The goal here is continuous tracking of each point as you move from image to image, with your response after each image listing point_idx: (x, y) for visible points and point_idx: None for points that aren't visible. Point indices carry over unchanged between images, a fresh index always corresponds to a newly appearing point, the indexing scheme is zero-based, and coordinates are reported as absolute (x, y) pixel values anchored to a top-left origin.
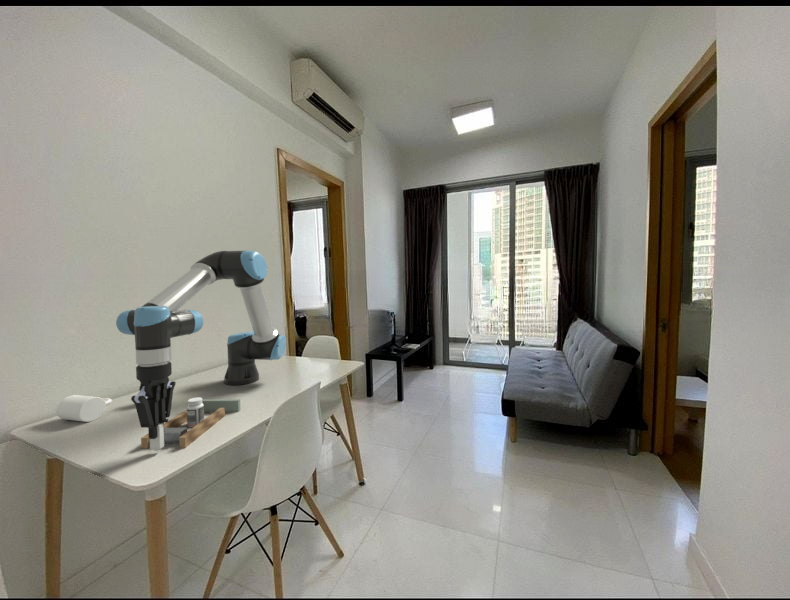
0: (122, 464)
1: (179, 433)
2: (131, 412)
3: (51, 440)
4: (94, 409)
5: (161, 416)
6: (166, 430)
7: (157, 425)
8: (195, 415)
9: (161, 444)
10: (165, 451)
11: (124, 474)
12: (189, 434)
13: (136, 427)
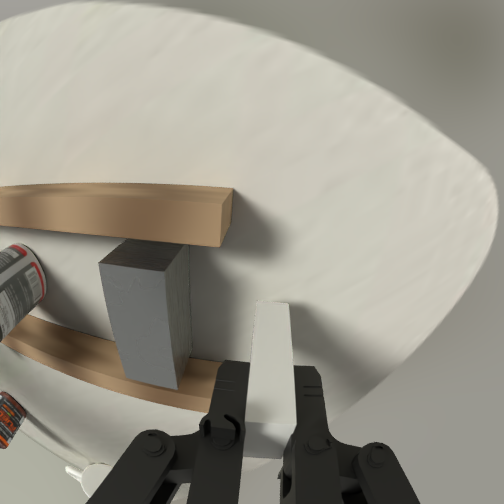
0: (342, 373)
1: (167, 274)
2: (61, 432)
3: (188, 488)
4: (101, 482)
5: (238, 484)
6: (148, 358)
7: (314, 435)
8: (4, 286)
9: (278, 315)
10: (262, 277)
11: (419, 326)
12: (170, 199)
13: (103, 420)
